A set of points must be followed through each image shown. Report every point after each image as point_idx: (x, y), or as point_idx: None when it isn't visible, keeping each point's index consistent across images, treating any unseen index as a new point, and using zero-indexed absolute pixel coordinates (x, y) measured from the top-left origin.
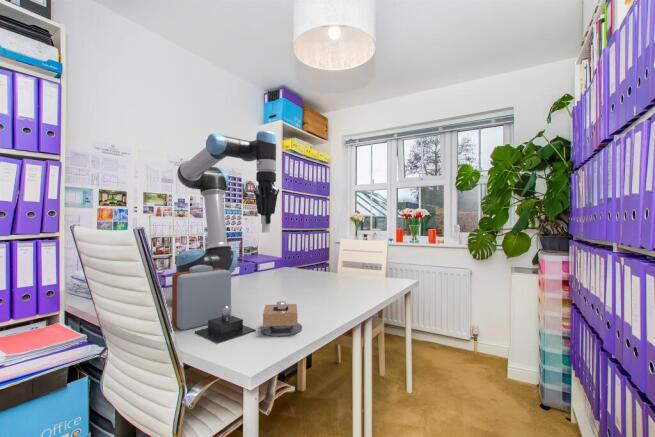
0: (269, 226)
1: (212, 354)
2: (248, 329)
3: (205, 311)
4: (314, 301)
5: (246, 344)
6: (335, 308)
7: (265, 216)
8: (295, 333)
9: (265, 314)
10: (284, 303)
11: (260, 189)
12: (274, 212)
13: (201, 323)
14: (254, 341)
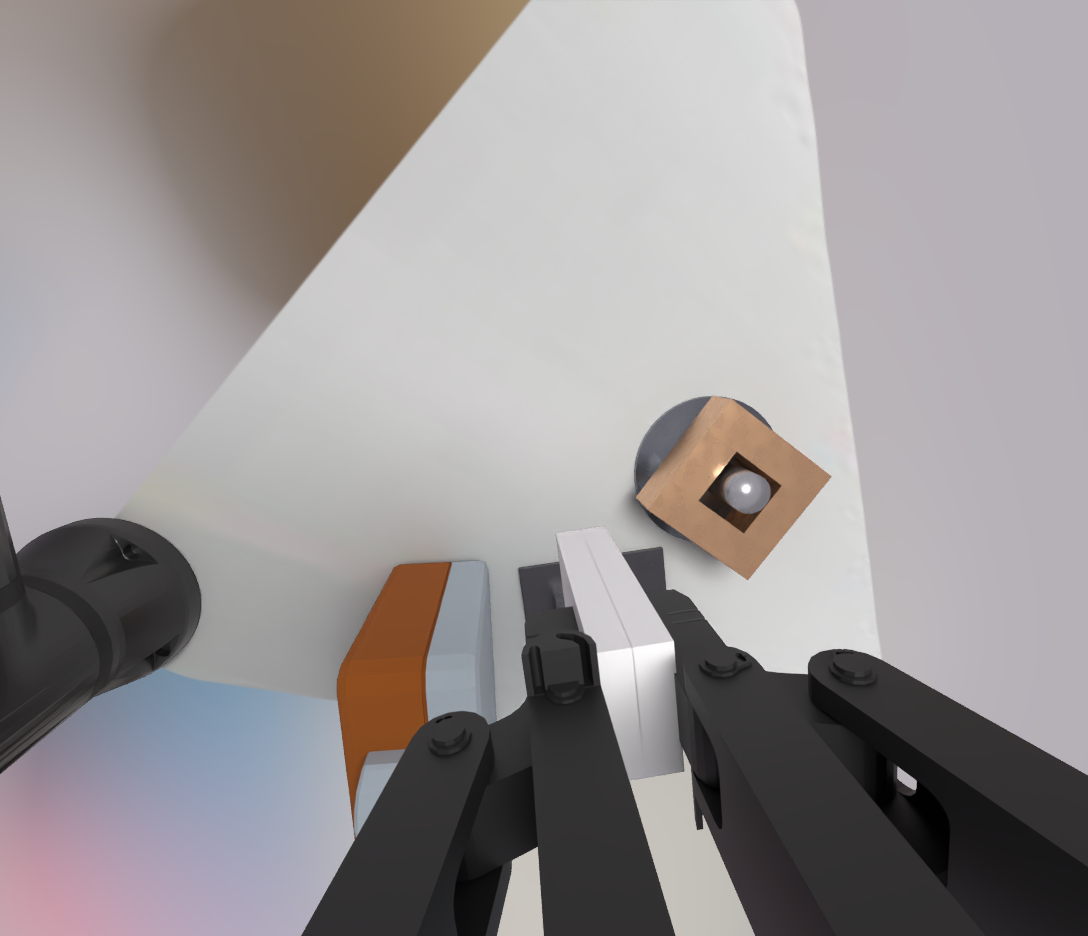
0: (623, 562)
1: None
2: (644, 565)
3: (491, 680)
4: (486, 82)
5: (735, 616)
6: (665, 100)
7: (678, 736)
8: None
9: (753, 572)
10: (769, 492)
11: None
12: (884, 665)
13: (493, 668)
14: (733, 590)
